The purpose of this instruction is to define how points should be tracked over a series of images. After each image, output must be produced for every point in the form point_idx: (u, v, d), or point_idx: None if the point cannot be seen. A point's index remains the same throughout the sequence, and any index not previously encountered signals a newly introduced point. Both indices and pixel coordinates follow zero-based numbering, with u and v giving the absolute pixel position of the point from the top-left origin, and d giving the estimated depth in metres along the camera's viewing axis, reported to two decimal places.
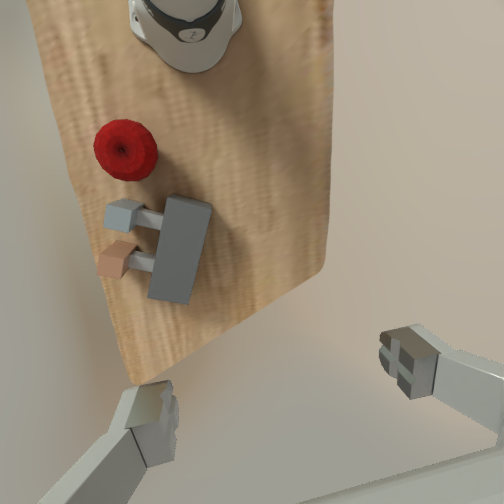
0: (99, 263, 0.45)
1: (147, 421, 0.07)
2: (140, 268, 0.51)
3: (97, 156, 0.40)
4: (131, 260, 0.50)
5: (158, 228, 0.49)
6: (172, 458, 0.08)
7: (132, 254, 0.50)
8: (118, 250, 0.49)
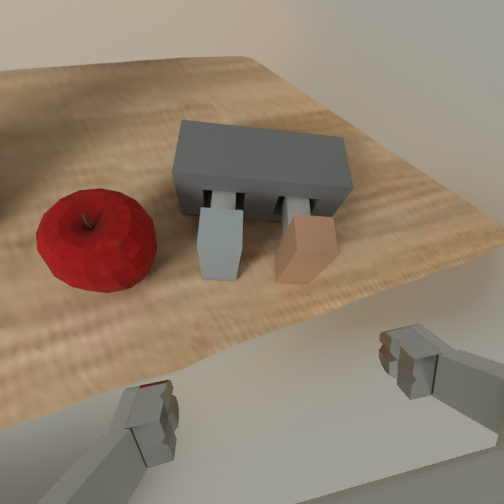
0: (314, 250, 0.23)
1: (147, 421, 0.07)
2: None
3: (105, 266, 0.21)
4: None
5: (234, 200, 0.30)
6: (172, 458, 0.08)
7: None
8: (286, 248, 0.27)
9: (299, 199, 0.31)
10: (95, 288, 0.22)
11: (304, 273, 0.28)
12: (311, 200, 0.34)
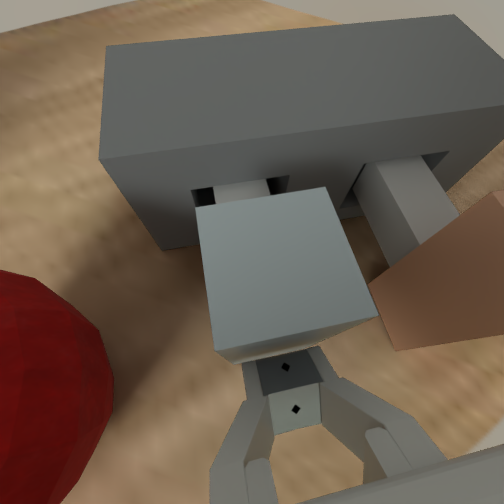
0: None
1: (281, 389, 0.08)
2: (444, 201, 0.13)
3: None
4: None
5: (263, 181, 0.13)
6: (296, 426, 0.08)
7: (414, 247, 0.12)
8: (443, 288, 0.10)
9: (403, 162, 0.14)
10: None
11: None
12: None
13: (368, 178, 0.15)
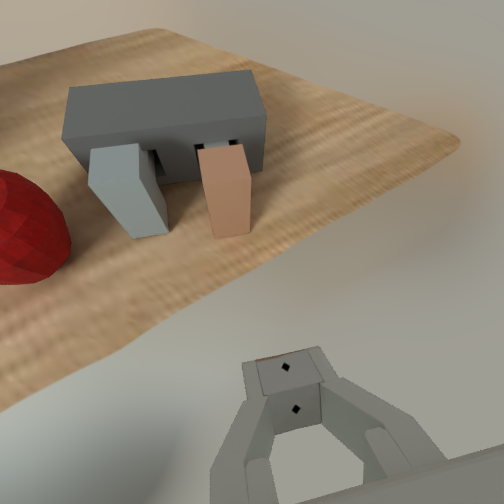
0: (223, 180, 0.21)
1: (281, 389, 0.08)
2: None
3: None
4: None
5: None
6: (296, 426, 0.08)
7: None
8: None
9: (218, 144, 0.29)
10: None
11: (235, 218, 0.26)
12: None
13: None
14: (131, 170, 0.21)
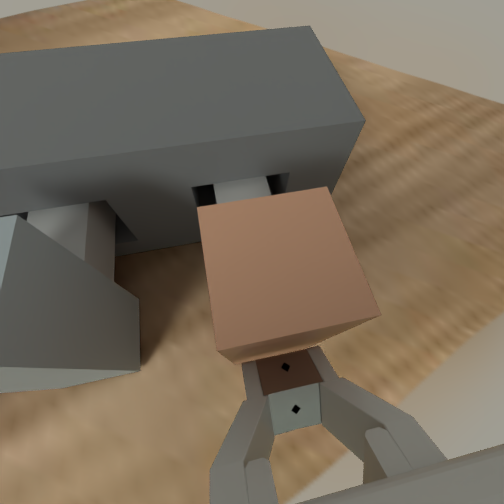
0: (287, 326, 0.06)
1: (281, 389, 0.08)
2: None
3: None
4: None
5: None
6: (296, 426, 0.08)
7: None
8: None
9: None
10: None
11: (287, 349, 0.11)
12: (276, 181, 0.16)
13: None
14: None
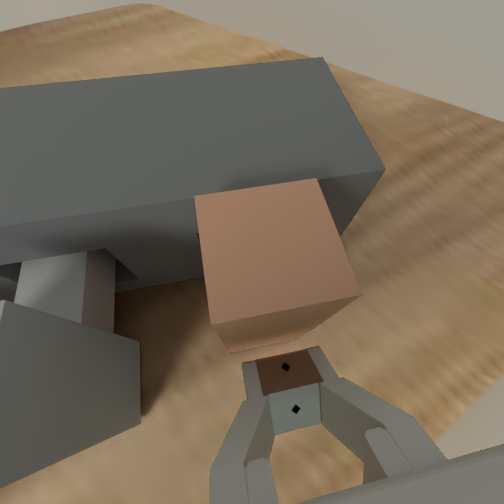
0: (276, 304, 0.07)
1: (281, 389, 0.08)
2: None
3: None
4: None
5: None
6: (296, 426, 0.08)
7: None
8: None
9: None
10: None
11: (281, 335, 0.12)
12: None
13: None
14: None
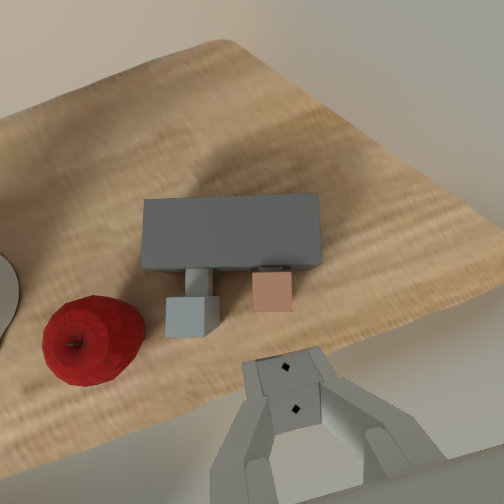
0: (269, 310, 0.26)
1: (281, 389, 0.08)
2: None
3: (96, 378, 0.26)
4: (268, 271, 0.31)
5: None
6: (296, 426, 0.08)
7: (259, 272, 0.31)
8: None
9: None
10: (96, 384, 0.28)
11: None
12: None
13: None
14: (198, 327, 0.26)
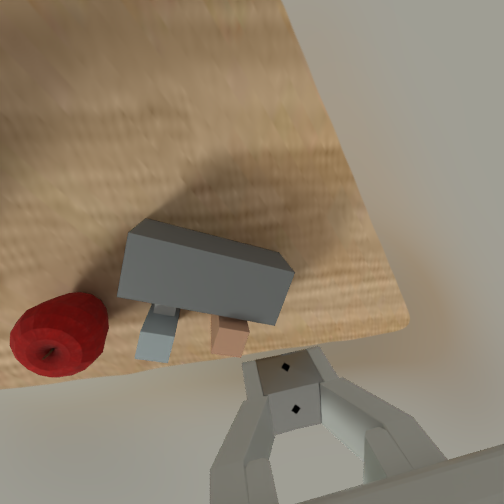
0: (224, 353, 0.33)
1: (281, 389, 0.08)
2: None
3: (67, 375, 0.31)
4: None
5: None
6: (296, 426, 0.08)
7: None
8: (214, 324, 0.36)
9: None
10: None
11: None
12: None
13: None
14: (164, 356, 0.32)
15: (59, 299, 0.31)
